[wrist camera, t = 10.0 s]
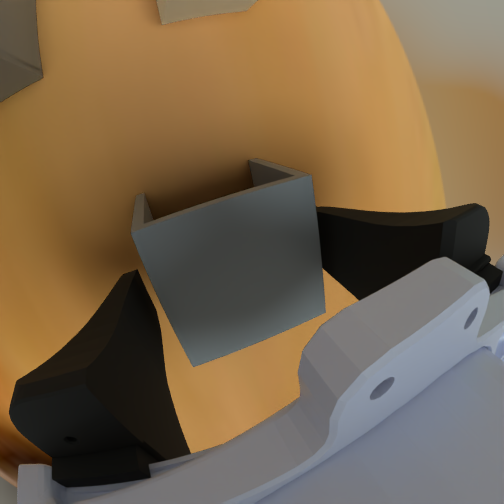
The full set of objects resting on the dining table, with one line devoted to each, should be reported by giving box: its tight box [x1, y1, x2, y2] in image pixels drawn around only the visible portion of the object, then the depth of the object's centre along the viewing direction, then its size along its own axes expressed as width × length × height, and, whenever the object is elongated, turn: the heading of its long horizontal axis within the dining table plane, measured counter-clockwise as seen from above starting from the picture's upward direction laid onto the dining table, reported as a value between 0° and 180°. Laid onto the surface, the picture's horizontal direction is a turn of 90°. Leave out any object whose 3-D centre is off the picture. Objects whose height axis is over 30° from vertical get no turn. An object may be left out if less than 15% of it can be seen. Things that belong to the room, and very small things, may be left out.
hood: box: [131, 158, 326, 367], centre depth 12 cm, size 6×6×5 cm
